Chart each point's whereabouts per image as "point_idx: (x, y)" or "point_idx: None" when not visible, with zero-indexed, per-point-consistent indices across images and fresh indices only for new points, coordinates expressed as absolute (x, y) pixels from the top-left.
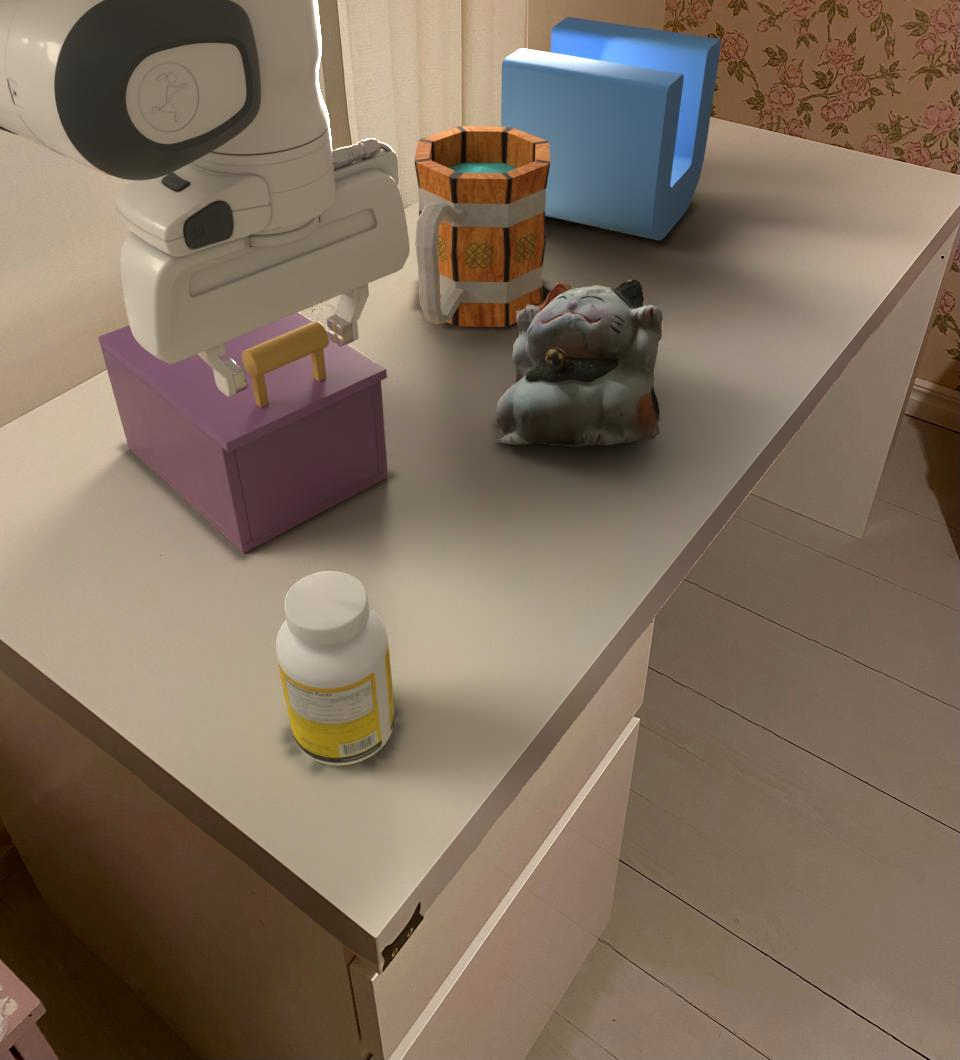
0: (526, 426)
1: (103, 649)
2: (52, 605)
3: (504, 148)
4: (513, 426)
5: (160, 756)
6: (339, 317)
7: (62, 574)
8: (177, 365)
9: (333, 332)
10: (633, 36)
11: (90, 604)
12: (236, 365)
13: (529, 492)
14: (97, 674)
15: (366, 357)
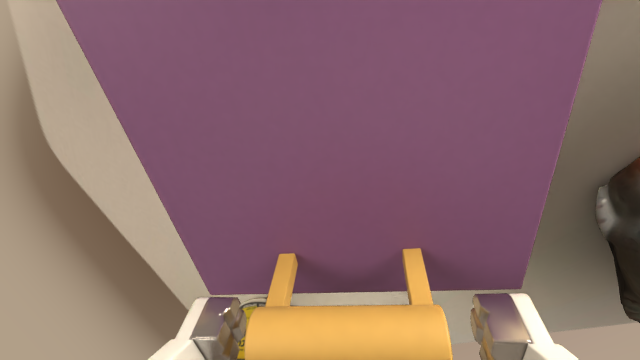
0: (627, 240)
1: (127, 195)
2: (79, 127)
3: None
4: (629, 209)
5: (163, 279)
6: (521, 353)
7: (83, 91)
8: (164, 52)
9: (484, 321)
10: None
11: (114, 146)
12: (222, 355)
13: (543, 241)
14: (124, 213)
15: (528, 251)
